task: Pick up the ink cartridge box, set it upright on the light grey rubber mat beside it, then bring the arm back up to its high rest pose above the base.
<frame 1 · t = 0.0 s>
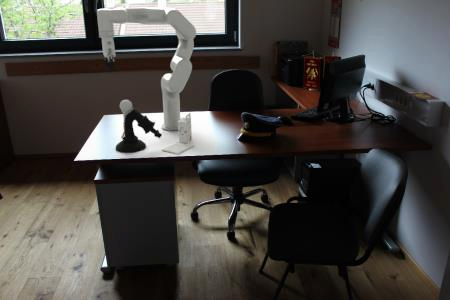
hand: (109, 67, 218), 37 cm above the table, tool pointing down, fingers open, 9 cm apart
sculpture: (139, 147, 213), on the table
grey mat: (177, 148, 211), on the table
ink cartridge box: (185, 141, 223), on the table
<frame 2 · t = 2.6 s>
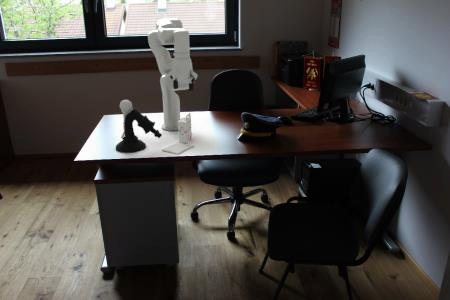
hand: (183, 89, 213), 28 cm above the table, tool pointing down, fingers open, 9 cm apart
nothing on the table moved.
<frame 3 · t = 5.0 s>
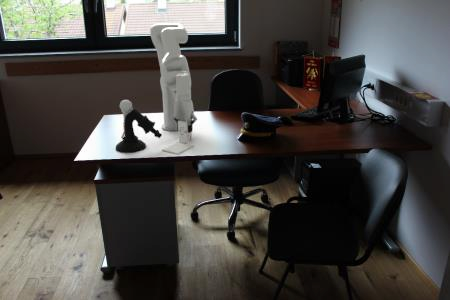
hand: (184, 130, 221), 6 cm above the table, tool pointing down, fingers closed on ink cartridge box, 6 cm apart
ink cartridge box: (185, 141, 223), on the table, touching gripper
everything else where it was.
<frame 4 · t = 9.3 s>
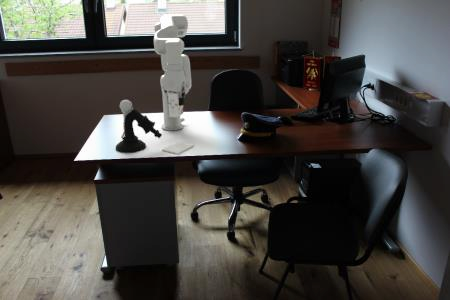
hand: (175, 103, 203), 23 cm above the table, tool pointing down, fingers closed on ink cartridge box, 6 cm apart
ink cartridge box: (176, 115, 205), point 17 cm above the table, touching gripper
everything else where it was.
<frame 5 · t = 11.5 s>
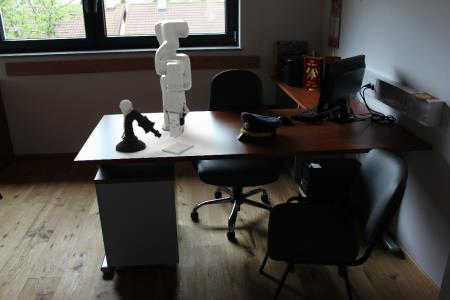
hand: (176, 123, 206), 13 cm above the table, tool pointing down, fingers closed on ink cartridge box, 6 cm apart
ink cartridge box: (177, 134, 208), point 7 cm above the table, touching gripper
everything else where it was.
when the fingers open (7 cm above the table, at t = 13.4 s): ink cartridge box drops 1 cm, resting on grey mat.
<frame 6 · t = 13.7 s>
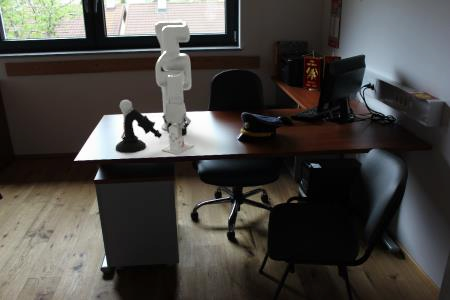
hand: (177, 133, 208), 8 cm above the table, tool pointing down, fingers open, 8 cm apart
ink cartridge box: (177, 147, 211), resting on grey mat
everything else where it was.
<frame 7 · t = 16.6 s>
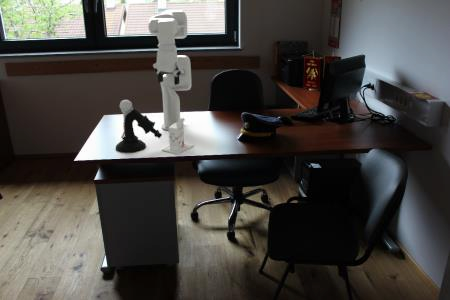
hand: (168, 83, 203), 33 cm above the table, tool pointing down, fingers open, 9 cm apart
nothing on the table moved.
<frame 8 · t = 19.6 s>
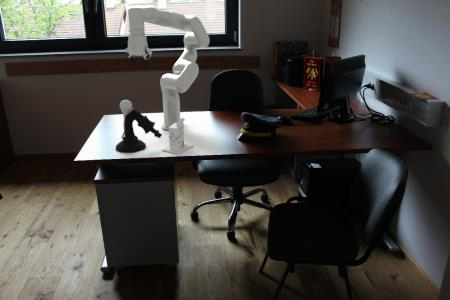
hand: (139, 66, 217), 38 cm above the table, tool pointing down, fingers open, 9 cm apart
nothing on the table moved.
at the end: ink cartridge box inside the target area on the grey mat (0.5 cm from its centre), point 0.4 cm above the grey mat's base; ink cartridge box tilted 0°; the gripper is holding nothing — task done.
